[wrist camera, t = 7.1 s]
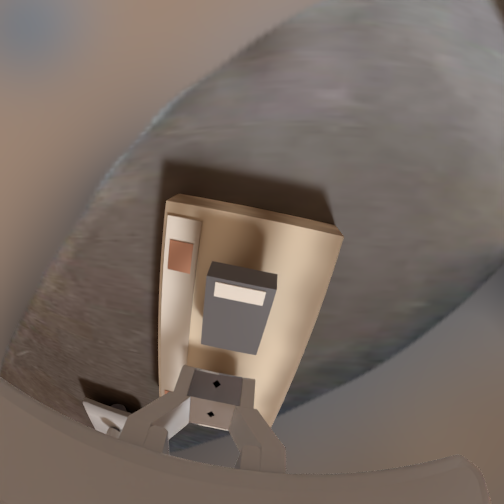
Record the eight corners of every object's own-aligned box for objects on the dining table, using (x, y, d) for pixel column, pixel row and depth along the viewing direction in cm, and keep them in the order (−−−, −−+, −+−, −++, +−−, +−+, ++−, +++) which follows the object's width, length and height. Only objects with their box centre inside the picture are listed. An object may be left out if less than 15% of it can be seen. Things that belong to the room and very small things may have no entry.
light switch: (103, 423, 37) (92, 444, 32) (88, 387, 33) (73, 410, 29) (156, 439, 37) (148, 463, 32) (147, 406, 33) (136, 433, 29)
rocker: (277, 274, 19) (276, 290, 18) (257, 340, 23) (255, 355, 21) (212, 260, 19) (206, 276, 18) (205, 329, 23) (200, 344, 21)
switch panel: (335, 225, 23) (347, 241, 19) (268, 415, 32) (267, 440, 28) (178, 193, 23) (161, 203, 19) (167, 395, 32) (158, 418, 28)
